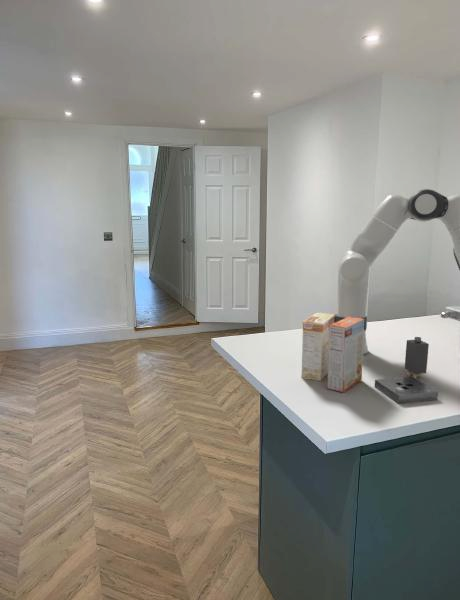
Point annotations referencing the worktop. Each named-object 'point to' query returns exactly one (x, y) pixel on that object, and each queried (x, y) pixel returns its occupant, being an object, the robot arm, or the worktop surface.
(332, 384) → the cracker box
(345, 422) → the worktop surface
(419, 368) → the plug
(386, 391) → the socket plate
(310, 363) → the coffeecake box
